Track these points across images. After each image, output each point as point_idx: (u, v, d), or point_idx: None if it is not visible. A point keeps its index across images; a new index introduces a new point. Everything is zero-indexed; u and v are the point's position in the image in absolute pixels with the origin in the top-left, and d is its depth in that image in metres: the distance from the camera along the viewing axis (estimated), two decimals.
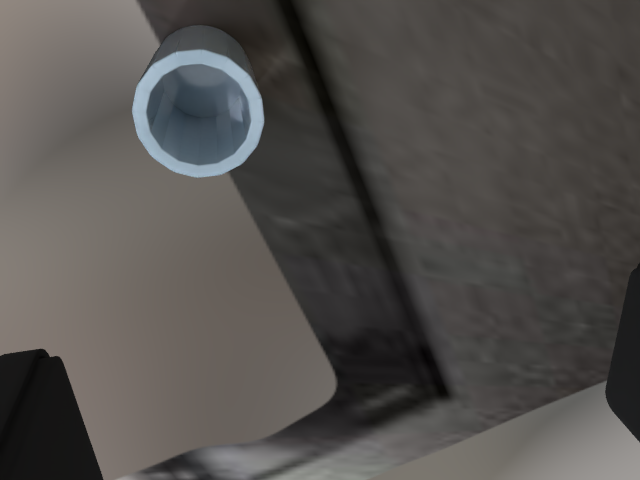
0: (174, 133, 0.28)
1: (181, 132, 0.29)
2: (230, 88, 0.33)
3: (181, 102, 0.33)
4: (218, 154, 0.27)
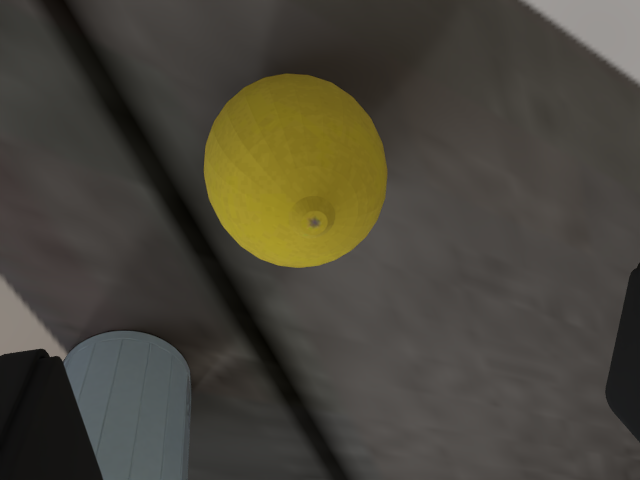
0: None
1: None
2: None
3: None
4: None
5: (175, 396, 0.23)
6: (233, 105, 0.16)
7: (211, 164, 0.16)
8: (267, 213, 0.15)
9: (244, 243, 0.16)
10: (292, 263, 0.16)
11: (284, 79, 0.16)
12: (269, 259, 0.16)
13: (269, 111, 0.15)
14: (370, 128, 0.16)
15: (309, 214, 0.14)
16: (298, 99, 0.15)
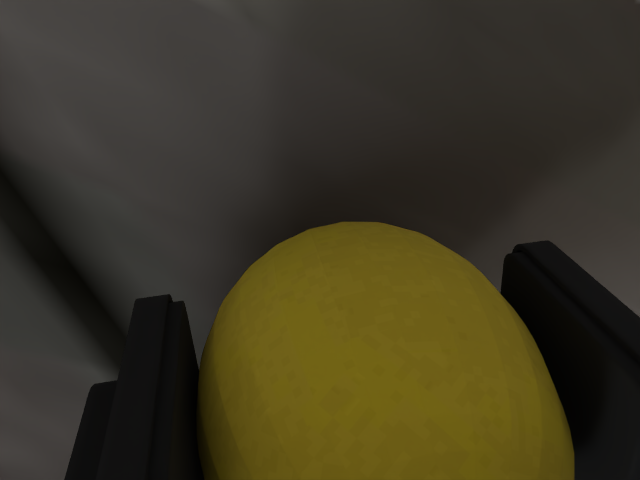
0: None
1: None
2: None
3: None
4: None
5: None
6: (255, 316, 0.08)
7: (211, 452, 0.07)
8: None
9: None
10: None
11: (359, 259, 0.08)
12: None
13: (342, 367, 0.07)
14: (542, 366, 0.08)
15: None
16: (403, 333, 0.07)
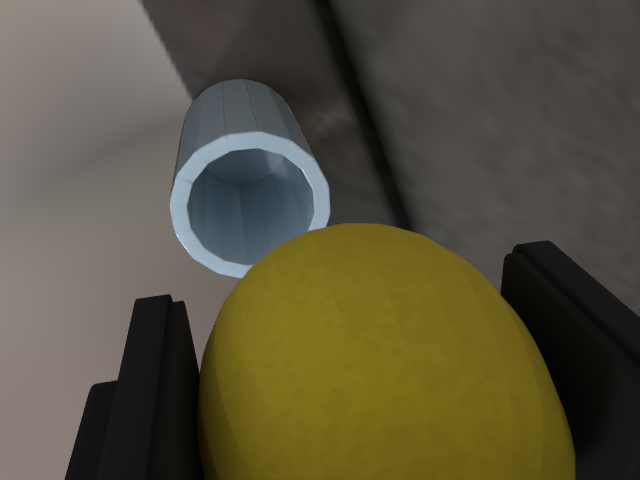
0: (213, 216, 0.23)
1: (220, 211, 0.25)
2: None
3: (216, 167, 0.28)
4: (270, 246, 0.22)
5: None
6: (256, 318, 0.08)
7: (212, 453, 0.07)
8: None
9: None
10: None
11: (360, 261, 0.08)
12: None
13: (343, 370, 0.07)
14: (543, 369, 0.08)
15: None
16: (404, 336, 0.07)
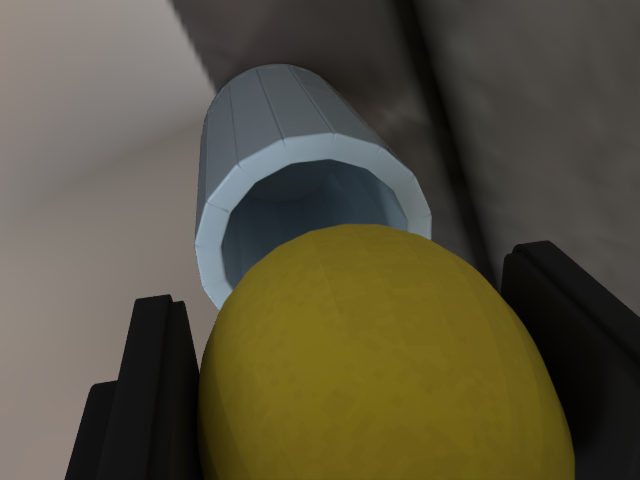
0: (250, 252, 0.17)
1: (258, 242, 0.18)
2: None
3: None
4: None
5: None
6: (256, 319, 0.08)
7: (211, 454, 0.07)
8: None
9: None
10: None
11: (359, 262, 0.08)
12: None
13: (343, 371, 0.07)
14: (543, 369, 0.08)
15: None
16: (403, 336, 0.07)
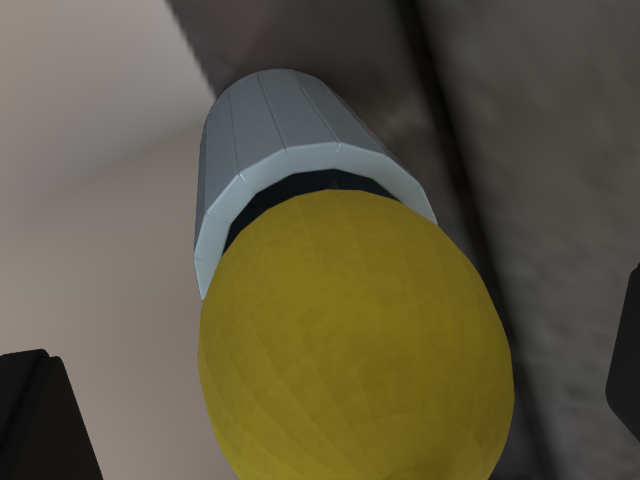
0: None
1: None
2: None
3: None
4: None
5: None
6: (248, 261, 0.09)
7: (210, 371, 0.09)
8: None
9: None
10: None
11: (335, 214, 0.10)
12: None
13: (317, 294, 0.08)
14: (487, 302, 0.09)
15: None
16: (367, 268, 0.08)
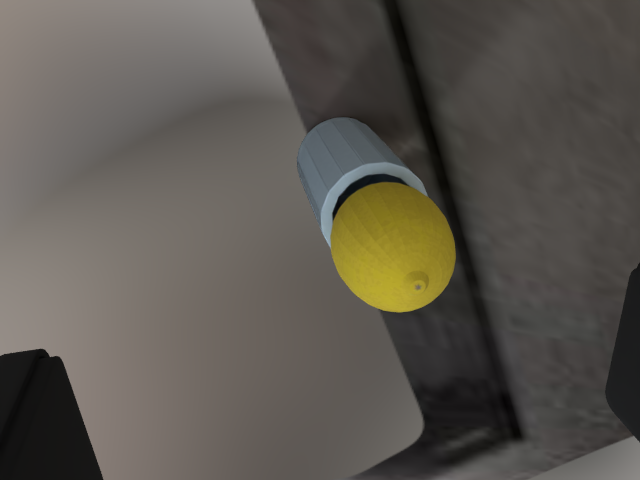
0: None
1: (334, 216, 0.33)
2: None
3: None
4: None
5: None
6: (357, 207, 0.25)
7: (345, 246, 0.25)
8: (387, 280, 0.23)
9: (365, 297, 0.25)
10: (396, 310, 0.25)
11: (390, 190, 0.25)
12: (381, 307, 0.25)
13: (387, 216, 0.24)
14: (446, 223, 0.25)
15: (415, 282, 0.23)
16: (403, 208, 0.24)
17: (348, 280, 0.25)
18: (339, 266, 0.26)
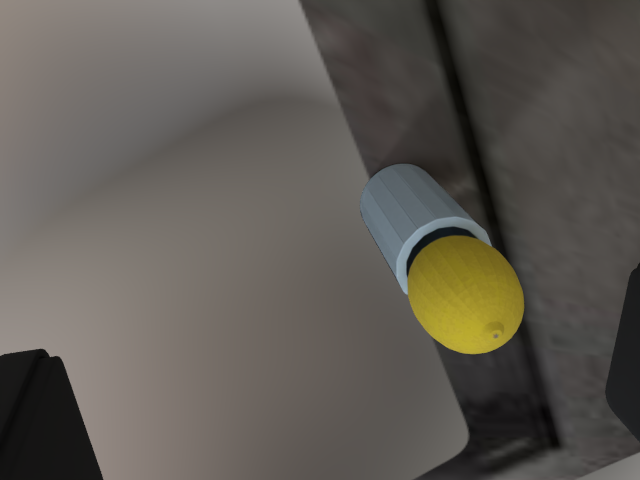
0: None
1: None
2: None
3: None
4: None
5: None
6: (436, 262, 0.28)
7: (427, 297, 0.28)
8: (467, 330, 0.27)
9: (445, 342, 0.28)
10: (472, 353, 0.28)
11: (464, 246, 0.29)
12: (459, 350, 0.28)
13: (465, 272, 0.27)
14: (515, 275, 0.28)
15: (494, 332, 0.26)
16: (480, 264, 0.27)
17: (429, 327, 0.28)
18: (420, 314, 0.29)
